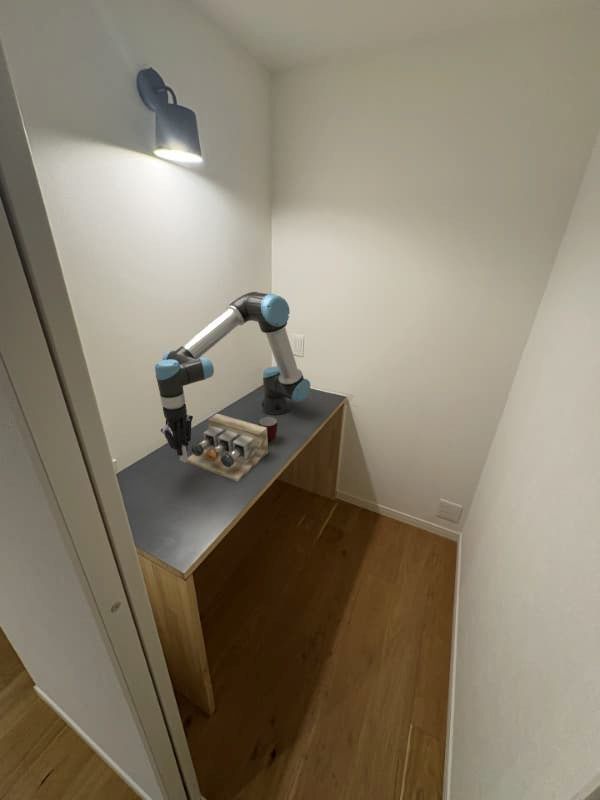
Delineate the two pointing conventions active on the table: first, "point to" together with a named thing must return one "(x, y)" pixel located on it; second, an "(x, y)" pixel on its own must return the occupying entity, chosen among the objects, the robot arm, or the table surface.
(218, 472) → the mount
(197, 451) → the knob
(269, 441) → the mug
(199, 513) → the table surface
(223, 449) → the knob middle
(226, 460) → the knob
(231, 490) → the table surface
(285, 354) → the robot arm
